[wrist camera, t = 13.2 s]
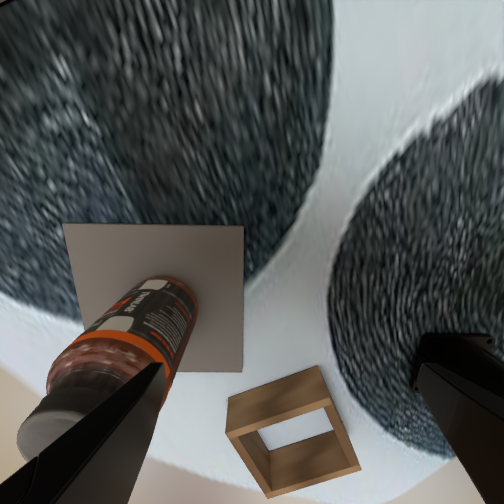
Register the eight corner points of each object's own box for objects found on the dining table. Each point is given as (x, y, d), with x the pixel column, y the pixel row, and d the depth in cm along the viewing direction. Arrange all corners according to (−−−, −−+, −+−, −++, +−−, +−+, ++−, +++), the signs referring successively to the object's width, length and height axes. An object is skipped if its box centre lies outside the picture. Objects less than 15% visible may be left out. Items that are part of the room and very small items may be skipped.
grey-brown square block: (243, 225, 19) (243, 226, 18) (242, 368, 23) (242, 372, 22) (66, 222, 18) (62, 223, 18) (96, 367, 22) (93, 371, 22)
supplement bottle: (144, 261, 19) (4, 367, 8) (211, 292, 20) (165, 424, 9) (120, 319, 20) (-26, 473, 10) (183, 345, 21) (115, 514, 10)
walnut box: (317, 365, 23) (329, 397, 19) (346, 431, 25) (361, 469, 22) (228, 397, 24) (225, 433, 20) (265, 458, 26) (267, 498, 23)
